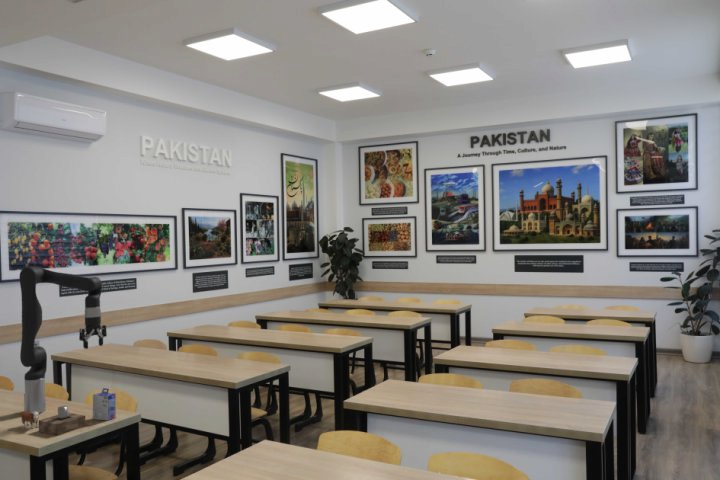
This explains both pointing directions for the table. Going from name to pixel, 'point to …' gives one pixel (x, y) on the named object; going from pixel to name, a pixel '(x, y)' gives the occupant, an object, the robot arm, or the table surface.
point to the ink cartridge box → (104, 405)
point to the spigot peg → (62, 413)
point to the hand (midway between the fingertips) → (93, 347)
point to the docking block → (62, 424)
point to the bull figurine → (30, 418)
